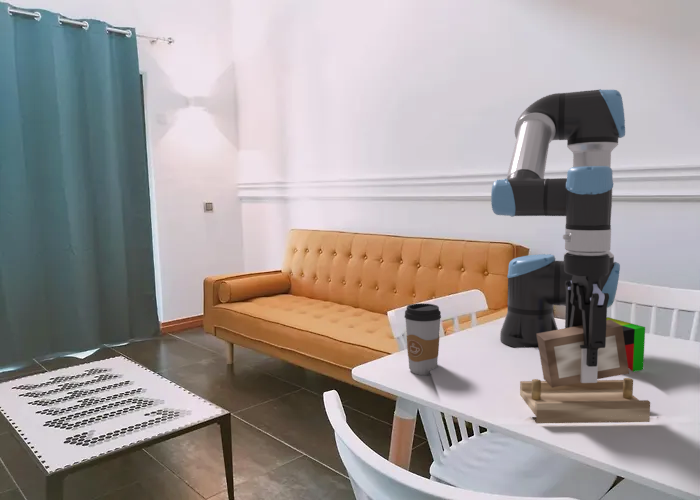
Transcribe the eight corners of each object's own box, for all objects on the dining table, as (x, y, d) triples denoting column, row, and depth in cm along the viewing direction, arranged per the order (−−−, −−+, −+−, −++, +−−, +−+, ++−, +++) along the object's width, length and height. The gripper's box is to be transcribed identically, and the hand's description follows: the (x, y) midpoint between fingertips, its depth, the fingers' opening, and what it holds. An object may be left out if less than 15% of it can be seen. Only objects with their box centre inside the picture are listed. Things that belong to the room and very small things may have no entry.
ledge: (519, 400, 106) (520, 371, 105) (622, 399, 106) (623, 370, 105) (536, 423, 96) (537, 391, 96) (649, 421, 96) (651, 389, 95)
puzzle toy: (575, 363, 127) (576, 322, 126) (606, 357, 131) (608, 317, 130) (611, 377, 118) (612, 332, 117) (643, 370, 122) (645, 327, 121)
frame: (552, 387, 98) (544, 340, 97) (543, 378, 103) (536, 333, 101) (629, 373, 97) (622, 325, 96) (617, 365, 102) (610, 319, 101)
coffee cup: (397, 371, 124) (396, 307, 122) (418, 362, 130) (418, 301, 128) (427, 379, 119) (427, 313, 117) (448, 369, 125) (448, 306, 123)
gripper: (548, 247, 106) (546, 361, 109) (586, 259, 89) (581, 395, 91) (587, 246, 106) (583, 361, 109) (632, 258, 88) (626, 395, 91)
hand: (582, 376), depth 100 cm, fingers closed on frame, 5 cm apart
